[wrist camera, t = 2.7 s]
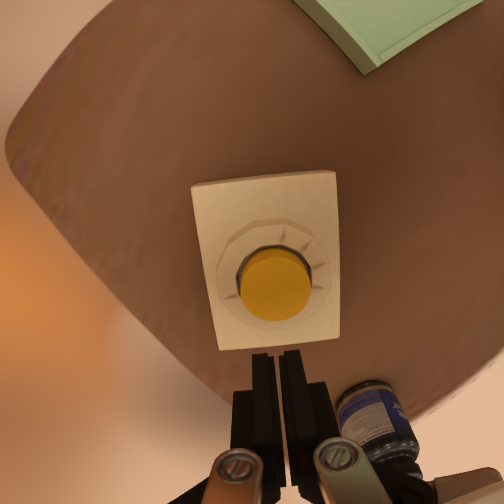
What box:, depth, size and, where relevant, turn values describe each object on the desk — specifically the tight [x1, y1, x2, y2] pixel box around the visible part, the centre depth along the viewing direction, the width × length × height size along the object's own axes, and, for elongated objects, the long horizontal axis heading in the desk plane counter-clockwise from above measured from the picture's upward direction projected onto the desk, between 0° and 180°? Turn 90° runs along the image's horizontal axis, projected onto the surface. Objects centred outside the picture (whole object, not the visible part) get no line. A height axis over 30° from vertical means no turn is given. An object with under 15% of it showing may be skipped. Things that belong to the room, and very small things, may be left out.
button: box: [240, 248, 311, 321], centre depth 19 cm, size 4×4×2 cm
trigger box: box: [191, 170, 340, 350], centre depth 21 cm, size 12×9×4 cm
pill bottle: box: [336, 381, 423, 479], centre depth 22 cm, size 6×6×11 cm
